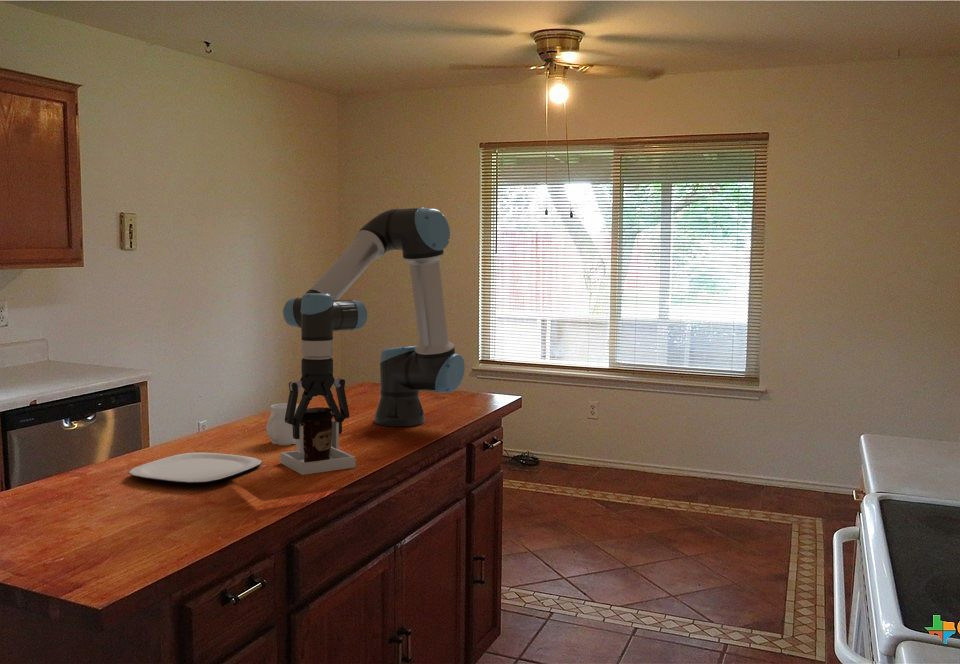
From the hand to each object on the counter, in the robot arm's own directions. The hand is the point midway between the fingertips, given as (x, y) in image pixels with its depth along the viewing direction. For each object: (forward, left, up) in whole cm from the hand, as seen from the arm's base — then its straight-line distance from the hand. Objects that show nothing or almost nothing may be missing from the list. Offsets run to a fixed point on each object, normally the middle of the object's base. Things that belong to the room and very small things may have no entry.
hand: (317, 449), depth 200 cm
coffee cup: (0, 0, -3) cm, 3 cm away
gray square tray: (0, 0, -4) cm, 4 cm away
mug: (-1, -27, -4) cm, 27 cm away
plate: (+26, -10, -4) cm, 28 cm away
